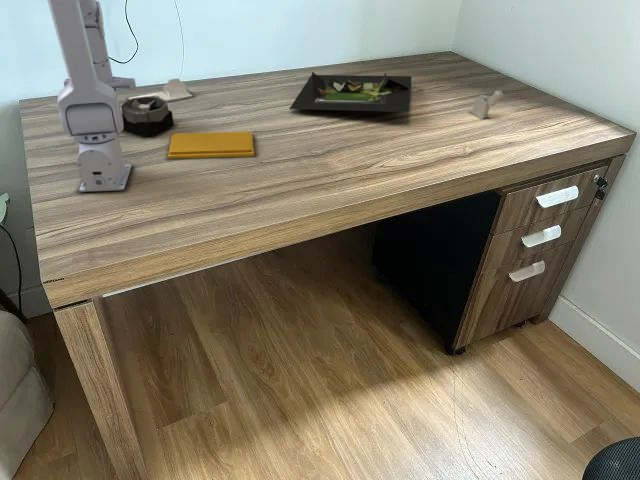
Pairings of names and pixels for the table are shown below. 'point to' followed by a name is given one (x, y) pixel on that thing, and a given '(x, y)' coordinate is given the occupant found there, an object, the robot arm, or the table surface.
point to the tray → (211, 145)
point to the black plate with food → (355, 93)
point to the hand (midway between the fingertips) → (108, 119)
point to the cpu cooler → (146, 116)
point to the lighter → (485, 104)
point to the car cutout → (170, 91)
